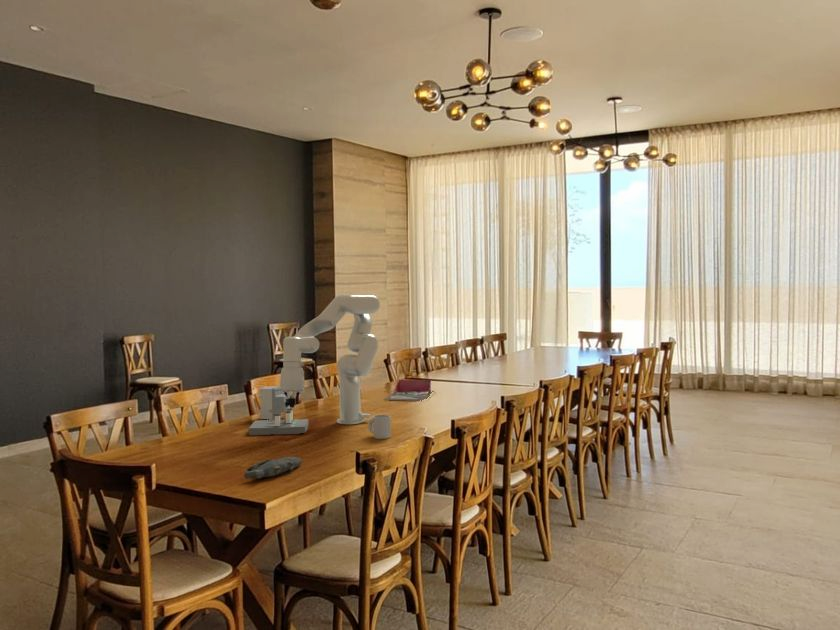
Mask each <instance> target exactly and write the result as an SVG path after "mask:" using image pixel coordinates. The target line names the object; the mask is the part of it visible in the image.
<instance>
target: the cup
mask: <svg viewBox="0 0 840 630" xmlns="http://www.w3.org/2000/svg"><path fill="white" fill-rule="evenodd" d="M391 426H392V425H391V415H389V414H376V415H375V414H374V415H373V416H372V417H370V418H369V421H368V430H369V432H370V433H371V434H372V435H373V438H374V439H375V440H386V439H390V438H391V434H392V431H391V430H392V429H391Z"/></svg>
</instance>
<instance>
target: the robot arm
mask: <svg viewBox="0 0 840 630" xmlns="http://www.w3.org/2000/svg"><path fill="white" fill-rule="evenodd" d="M380 306H381V302H380V300H379V298H378V297H377V296H375V295H371V294H368V295H367V294H366V295H365V294H359V295H358V294H339V295H336V296H335V297H334V298H333V299H332V301H331V302H330V303H329V304H328V305H327V306H326V307H325V309H323V311H322V312H321V313H320V314H319V315H318V316H317V317H315V318H313V319H312V320H310V321H309V322H307V323H306V324H303V326H301V327H300V328H299V330H298V331H297V332H296V333H295V335H294V336H286V337H284V339H283V347H282V348H283V349H282V350H283V358H282V359H283V362H282V363H283V364H282V365H283V366H282V367H281V372H280V380H279V386H280V392H279V393H280V394H284V395H286V396H287V397H288V405H290V408H295V406H296V405H297V404H296V403H297V402H296V401H297V400H296V399H297V397H298V396H299V395H305V374H304V368H303V366H305V362H304V361H302V353H305V354H313V353H315V352H317V351H318V350H319V348H320V340H319V339H318V338H317V336H318V335H320V334H322V333H326V332H327V331H330V330H333V329H334V328H335V327H336V325H337V324H338V323H339V322H340V321H341V320H342V319H343V317H344V316H346V315H347V314H351V315H353V318H354V321H353V325H352V329H351V332H350V335H349V338H348V340H347V349H348V350H349V351H350V352H351V353H354V354H344V355H341V357H339V358H338V361H337V363H336V364H337V365H336V368H337V373H338V378H339V379H338V380H339V416H340V417H339V418H337V420H336V423H337V424H340V425H356V424H357V425H358V424H363V423H364V422H365V419H371V414H370V413H363V412H362V410H361V409H362V407H361V381H360V378H361V377H366V376H367V375H368V374H369V373H370V372H371V370H372V367H373V364H374V361H375V358H376V356H377V353H378V348H379V341H378V339H377V336H375V335H374V334H373V333H371V330H372V328H373V320H372V317H371V314H375V313H377V312H378V311H379V309H380ZM356 354H357V355H356ZM291 392H293V395H292V394H291Z"/></svg>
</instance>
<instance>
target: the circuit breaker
mask: <svg viewBox="0 0 840 630" xmlns="http://www.w3.org/2000/svg"><path fill="white" fill-rule="evenodd" d="M279 392H280V385H279V386H273V385H270V386H269V385H265V386H263V387H262V386H261V387H260V388H259V392H258V398H260V406H261V407H260V409H259V420H260V419H261V420H262V419H267V420H268V419H269V420H275V416H274V414H275V413H280V418H282V417H283V414H282V413H285V411H286V410H287V408H290V405H288V397H287V396H286V395H284V394H280V393H279Z"/></svg>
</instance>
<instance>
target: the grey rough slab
mask: <svg viewBox="0 0 840 630" xmlns="http://www.w3.org/2000/svg"><path fill="white" fill-rule="evenodd" d="M302 463H303V460H302V459H301V458H300V457H298V456H297V457H296V456H285V457H280V458H275V459H265V460H263V461H259V462H256V463H254V464H253V465H251V466H249V467H247V468H246V471H247V472H245V473H244V475H243V476H244V478H245V479H261V478H272V477H276V476H278V475H280V474H282V473H284V472H287V471H293V469H295V468H297V467H300V465H301V464H302Z"/></svg>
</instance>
